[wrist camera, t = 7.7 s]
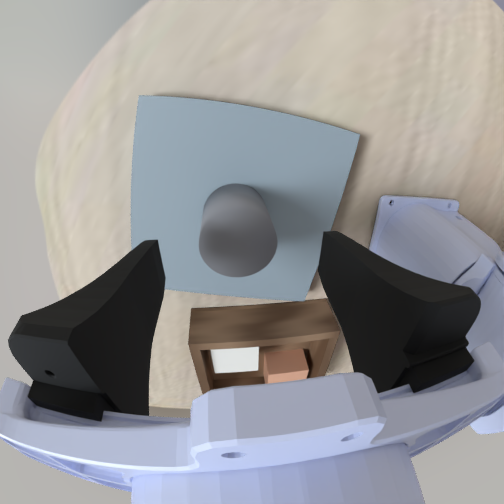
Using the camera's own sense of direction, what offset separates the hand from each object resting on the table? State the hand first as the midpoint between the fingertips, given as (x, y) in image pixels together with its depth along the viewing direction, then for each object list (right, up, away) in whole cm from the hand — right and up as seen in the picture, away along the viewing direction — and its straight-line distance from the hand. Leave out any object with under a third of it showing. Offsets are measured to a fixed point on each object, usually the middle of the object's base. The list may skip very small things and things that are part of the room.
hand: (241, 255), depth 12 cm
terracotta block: (+4, -12, +16) cm, 20 cm away
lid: (-1, +3, +6) cm, 7 cm away
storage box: (+1, -10, +15) cm, 18 cm away
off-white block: (-1, -8, +13) cm, 15 cm away
